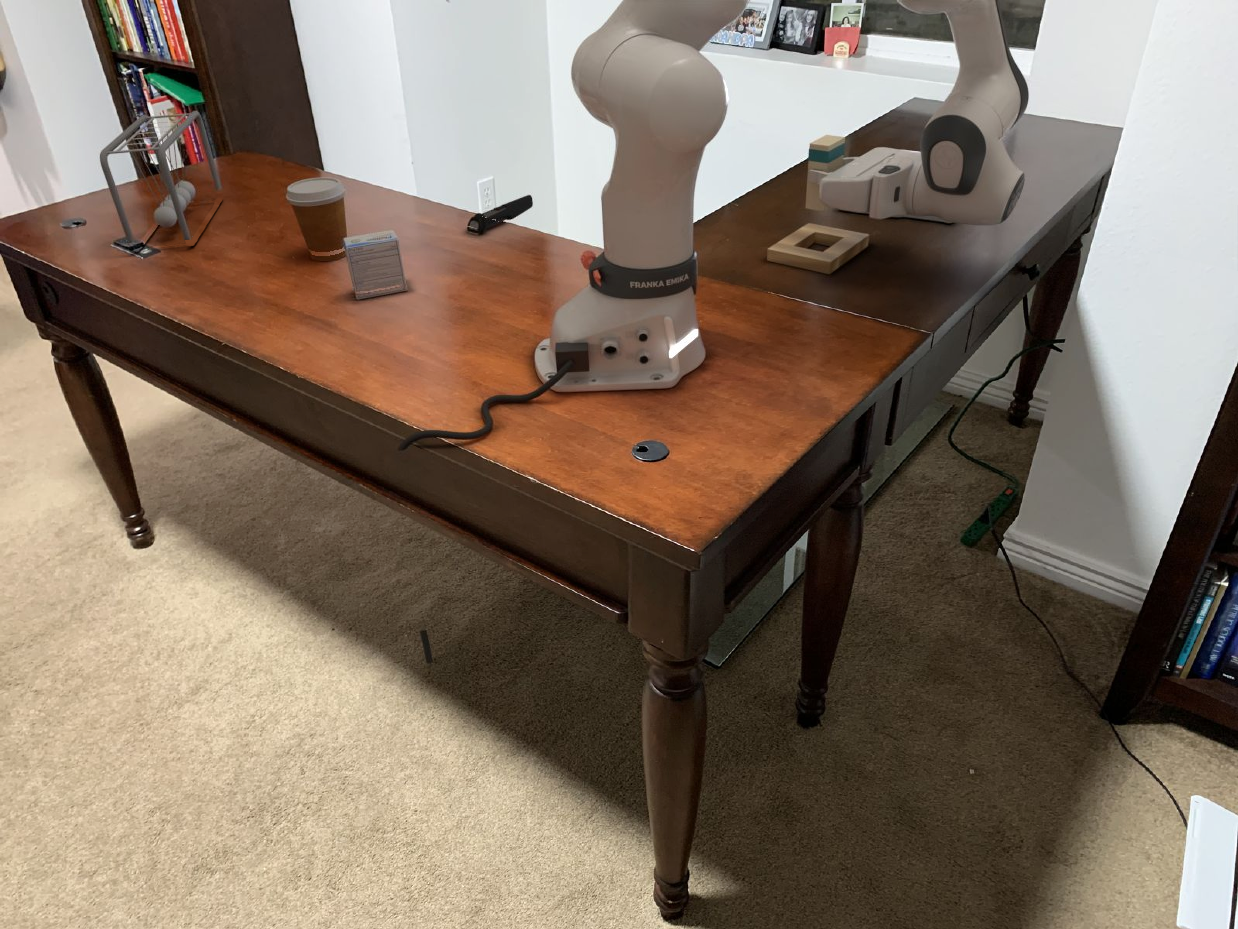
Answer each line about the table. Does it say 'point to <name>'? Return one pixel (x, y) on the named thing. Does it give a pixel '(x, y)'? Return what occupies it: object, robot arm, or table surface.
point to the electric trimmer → (499, 214)
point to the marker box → (823, 165)
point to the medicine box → (375, 263)
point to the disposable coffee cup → (320, 214)
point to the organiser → (825, 262)
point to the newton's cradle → (177, 193)
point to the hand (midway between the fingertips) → (819, 169)
